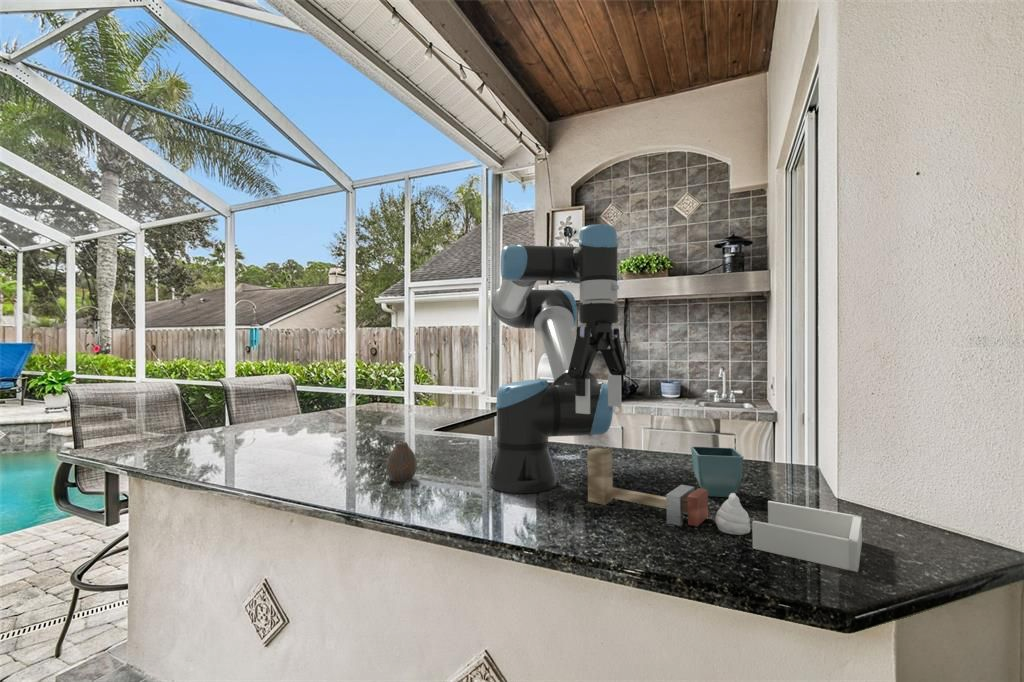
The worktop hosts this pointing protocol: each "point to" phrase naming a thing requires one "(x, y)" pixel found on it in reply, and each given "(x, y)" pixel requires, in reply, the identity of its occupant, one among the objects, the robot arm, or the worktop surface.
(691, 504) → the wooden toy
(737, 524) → the whipped cream swirl
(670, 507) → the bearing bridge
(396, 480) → the brown egg shape
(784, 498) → the worktop surface
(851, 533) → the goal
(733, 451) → the flower pot
